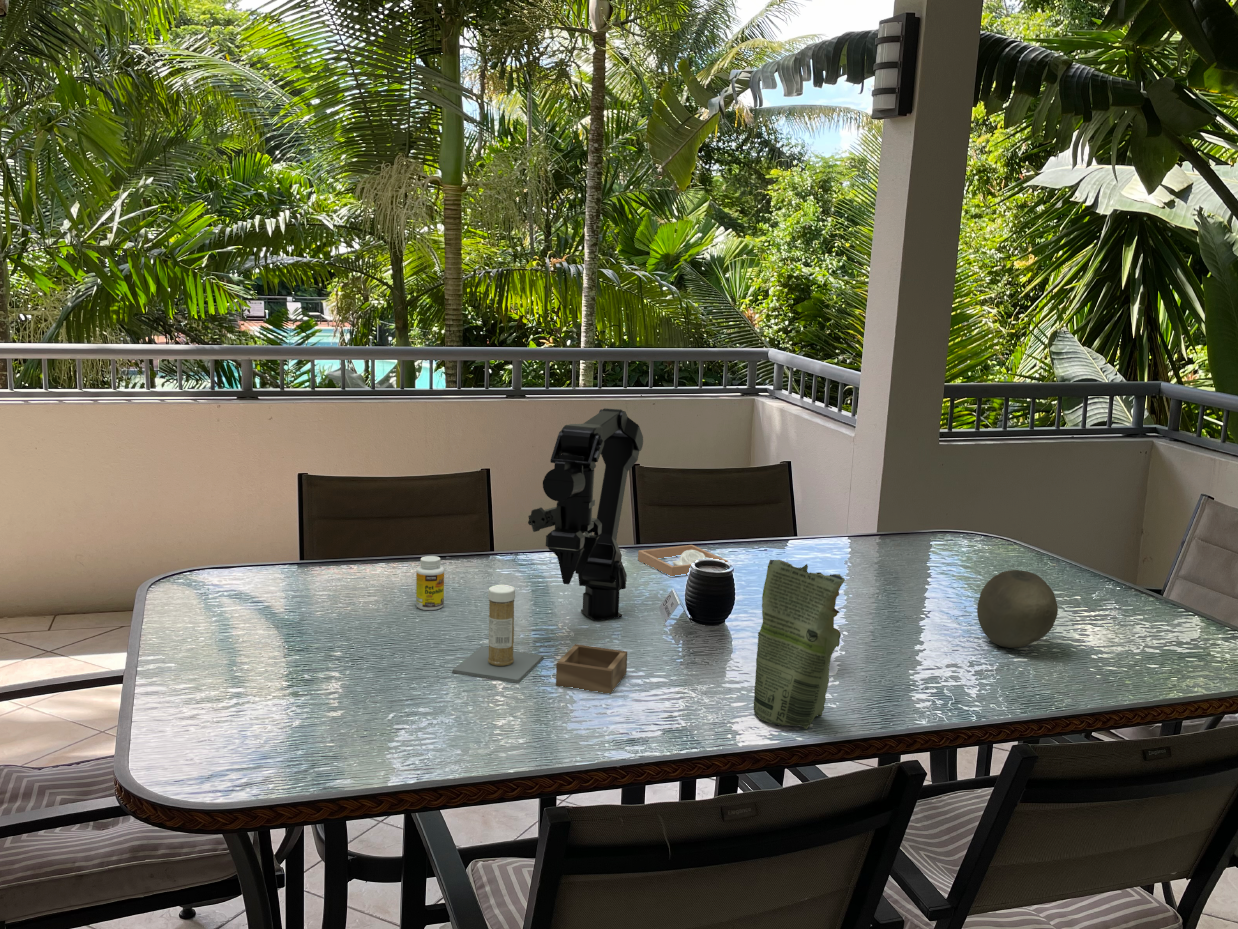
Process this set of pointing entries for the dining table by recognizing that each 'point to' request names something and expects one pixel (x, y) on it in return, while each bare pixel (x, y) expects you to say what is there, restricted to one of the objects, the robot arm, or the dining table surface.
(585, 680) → the walnut sleeve
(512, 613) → the sprinkles bottle
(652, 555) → the wooden square frame
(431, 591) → the supplement bottle
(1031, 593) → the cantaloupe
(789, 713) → the pouch
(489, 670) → the grey mat
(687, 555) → the rose
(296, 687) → the dining table surface
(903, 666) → the dining table surface
